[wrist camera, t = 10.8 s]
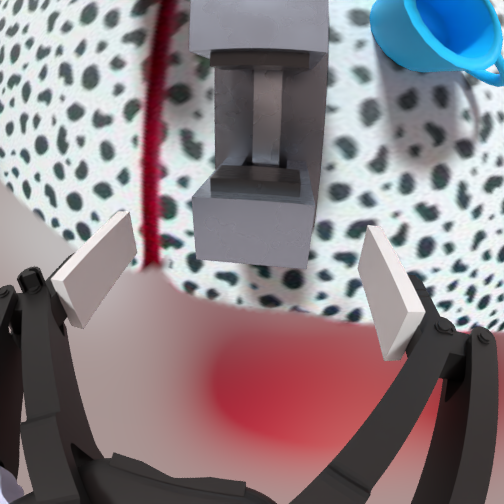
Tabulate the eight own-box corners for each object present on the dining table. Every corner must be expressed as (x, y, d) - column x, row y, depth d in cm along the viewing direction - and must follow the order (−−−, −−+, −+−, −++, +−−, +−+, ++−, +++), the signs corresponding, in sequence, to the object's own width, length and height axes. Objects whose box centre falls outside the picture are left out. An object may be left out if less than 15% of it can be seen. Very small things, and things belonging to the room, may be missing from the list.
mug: (355, 39, 18) (384, 18, 11) (386, -23, 14) (419, -57, 7) (462, 113, 19) (515, 129, 12) (488, 52, 15) (541, 52, 8)
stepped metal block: (228, 199, 26) (196, 259, 18) (228, 147, 24) (191, 183, 15) (301, 205, 25) (306, 269, 17) (306, 152, 23) (316, 191, 14)
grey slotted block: (219, 216, 28) (183, 284, 19) (218, 6, 18) (171, -39, 8) (313, 223, 27) (322, 297, 18) (327, 9, 17) (351, -42, 8)
